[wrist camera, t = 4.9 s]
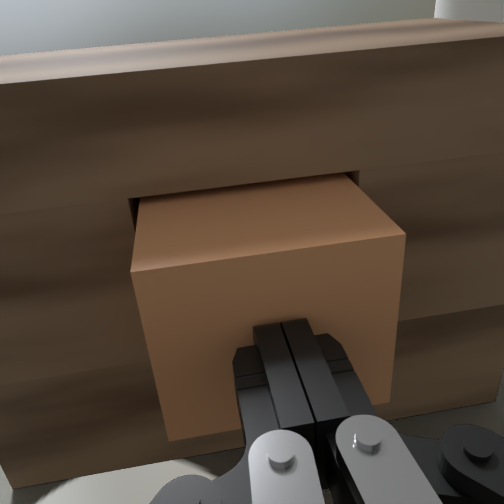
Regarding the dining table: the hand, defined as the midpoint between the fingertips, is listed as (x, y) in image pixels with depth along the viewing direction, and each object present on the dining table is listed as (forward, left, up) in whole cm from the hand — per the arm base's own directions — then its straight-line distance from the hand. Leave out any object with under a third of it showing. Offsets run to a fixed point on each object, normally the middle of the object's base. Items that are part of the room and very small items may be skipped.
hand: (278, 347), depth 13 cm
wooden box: (+5, -7, -9) cm, 13 cm away
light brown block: (+2, -3, -3) cm, 5 cm away
